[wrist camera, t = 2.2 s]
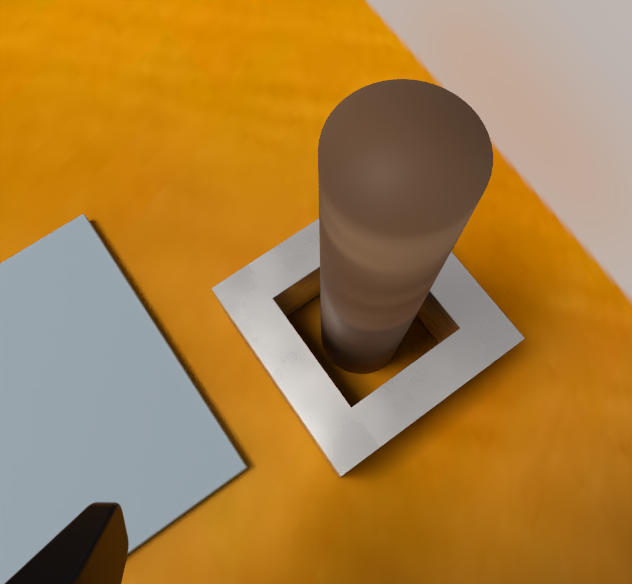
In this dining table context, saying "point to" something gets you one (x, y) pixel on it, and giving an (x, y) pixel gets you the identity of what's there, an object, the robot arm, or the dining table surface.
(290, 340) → the collar
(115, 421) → the rubber mat
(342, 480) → the dining table surface
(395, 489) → the dining table surface
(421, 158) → the walnut rod
